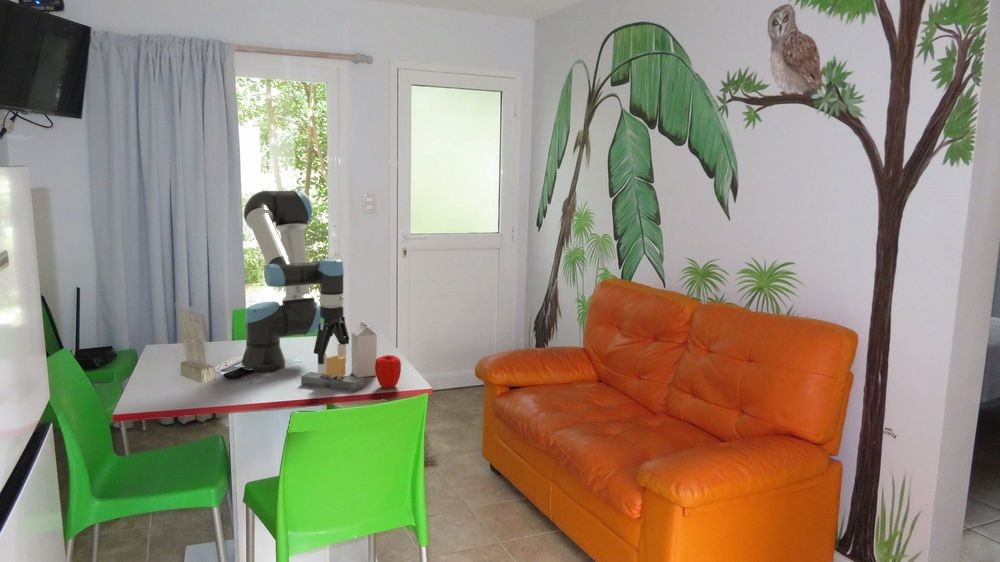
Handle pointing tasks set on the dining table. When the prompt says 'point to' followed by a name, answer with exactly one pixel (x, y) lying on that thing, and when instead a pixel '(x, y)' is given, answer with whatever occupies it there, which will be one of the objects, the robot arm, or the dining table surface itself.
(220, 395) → the dining table surface
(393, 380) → the apple
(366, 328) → the milk carton
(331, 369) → the clip
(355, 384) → the grey flat block
